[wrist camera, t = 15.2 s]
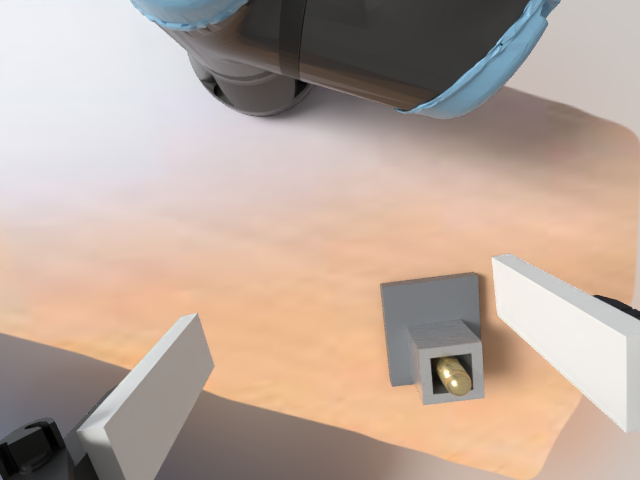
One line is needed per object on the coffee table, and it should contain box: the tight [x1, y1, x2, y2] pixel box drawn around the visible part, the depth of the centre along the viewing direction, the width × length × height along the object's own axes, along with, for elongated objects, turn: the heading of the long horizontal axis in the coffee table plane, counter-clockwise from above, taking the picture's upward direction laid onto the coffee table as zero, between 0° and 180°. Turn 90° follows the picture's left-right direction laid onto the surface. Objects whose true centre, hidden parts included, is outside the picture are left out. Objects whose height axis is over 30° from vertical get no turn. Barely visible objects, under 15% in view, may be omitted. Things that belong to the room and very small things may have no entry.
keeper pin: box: [430, 355, 471, 396], centre depth 40 cm, size 3×3×9 cm
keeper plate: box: [380, 272, 481, 387], centre depth 44 cm, size 14×12×2 cm
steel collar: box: [406, 319, 485, 405], centre depth 41 cm, size 7×7×6 cm
